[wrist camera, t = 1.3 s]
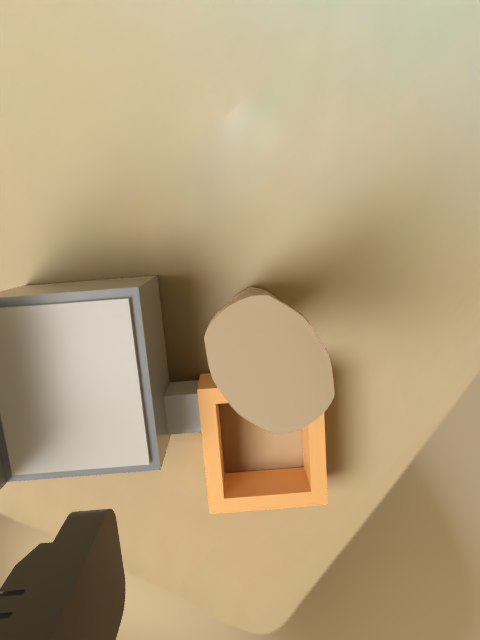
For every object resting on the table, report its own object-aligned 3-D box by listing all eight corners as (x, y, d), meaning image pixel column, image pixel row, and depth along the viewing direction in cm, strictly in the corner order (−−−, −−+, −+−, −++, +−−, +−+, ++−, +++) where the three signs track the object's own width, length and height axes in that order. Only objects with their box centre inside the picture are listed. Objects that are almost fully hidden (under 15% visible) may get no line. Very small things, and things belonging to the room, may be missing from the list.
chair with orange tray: (14, 286, 33) (-210, 343, 16) (309, 263, 33) (390, 296, 16) (52, 500, 36) (-98, 727, 20) (318, 479, 37) (392, 686, 20)
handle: (255, 254, 33) (277, 274, 18) (301, 323, 34) (356, 395, 19) (203, 290, 33) (181, 337, 18) (249, 357, 34) (264, 452, 20)
